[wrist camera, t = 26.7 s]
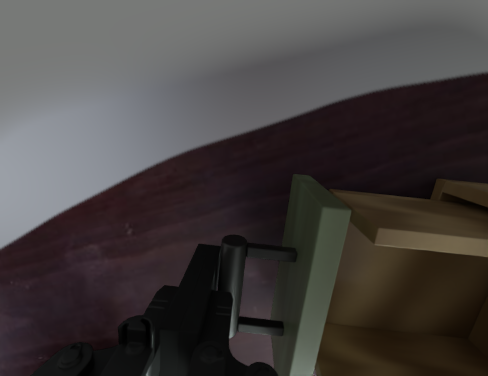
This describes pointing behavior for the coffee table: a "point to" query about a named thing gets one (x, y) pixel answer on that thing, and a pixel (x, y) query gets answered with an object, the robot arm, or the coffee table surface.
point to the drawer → (371, 285)
